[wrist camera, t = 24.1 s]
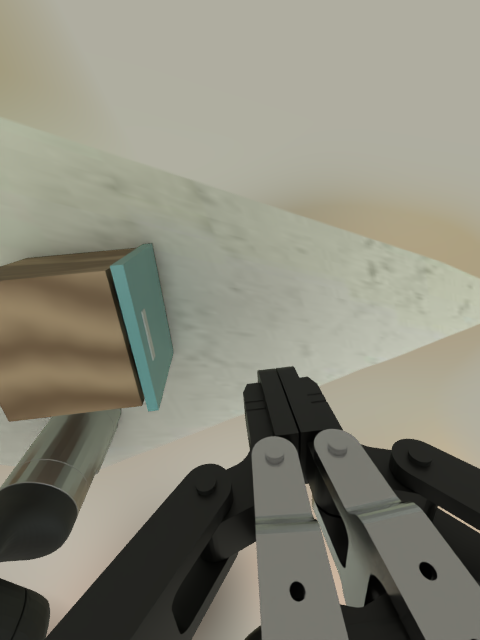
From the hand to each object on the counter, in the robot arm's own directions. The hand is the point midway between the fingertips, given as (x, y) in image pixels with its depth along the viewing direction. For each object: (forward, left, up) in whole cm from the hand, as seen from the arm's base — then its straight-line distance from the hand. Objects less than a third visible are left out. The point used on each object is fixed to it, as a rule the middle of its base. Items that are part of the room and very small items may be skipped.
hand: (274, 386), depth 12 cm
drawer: (-6, +18, -30) cm, 36 cm away
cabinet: (-6, +20, -31) cm, 37 cm away
